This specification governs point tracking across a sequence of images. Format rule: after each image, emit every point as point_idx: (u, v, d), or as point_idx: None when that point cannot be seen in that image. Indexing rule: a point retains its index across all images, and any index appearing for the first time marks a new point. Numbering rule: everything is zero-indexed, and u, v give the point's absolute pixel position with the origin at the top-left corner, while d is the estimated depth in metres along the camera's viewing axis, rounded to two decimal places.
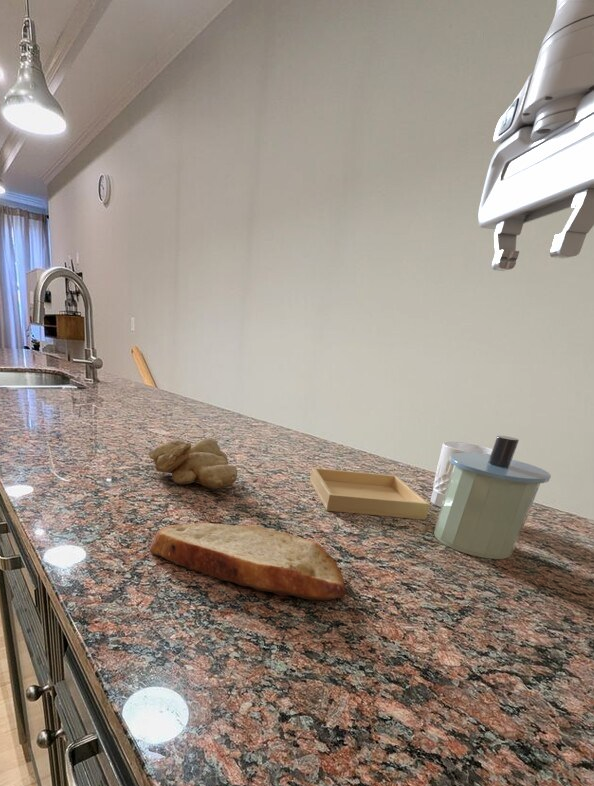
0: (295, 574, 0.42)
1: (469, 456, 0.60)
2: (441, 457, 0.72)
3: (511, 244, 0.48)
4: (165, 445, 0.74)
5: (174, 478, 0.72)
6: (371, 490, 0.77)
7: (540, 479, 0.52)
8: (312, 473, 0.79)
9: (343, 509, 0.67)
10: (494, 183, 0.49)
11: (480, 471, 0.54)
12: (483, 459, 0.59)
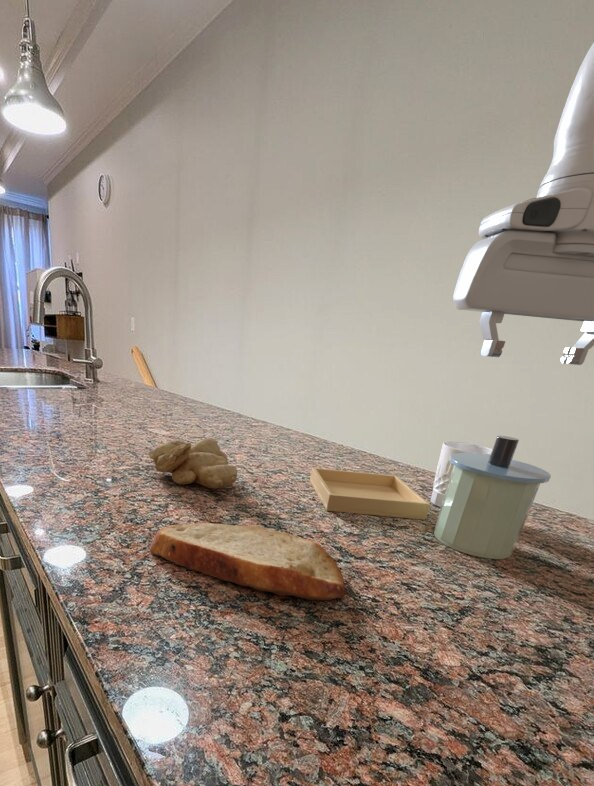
0: (295, 574, 0.42)
1: (469, 456, 0.60)
2: (441, 457, 0.72)
3: None
4: (165, 445, 0.74)
5: (174, 478, 0.72)
6: (371, 490, 0.77)
7: (540, 479, 0.52)
8: (312, 473, 0.79)
9: (343, 509, 0.67)
10: (496, 268, 0.47)
11: (480, 471, 0.54)
12: (483, 459, 0.59)
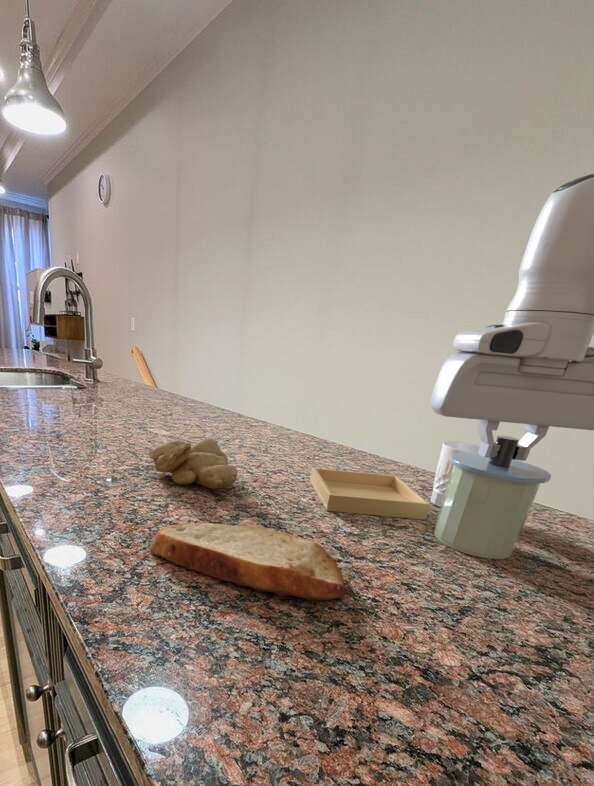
0: (295, 574, 0.42)
1: (469, 456, 0.60)
2: (441, 457, 0.72)
3: None
4: (165, 445, 0.74)
5: (174, 478, 0.72)
6: (371, 490, 0.77)
7: (540, 479, 0.52)
8: (312, 473, 0.79)
9: (343, 509, 0.67)
10: (467, 384, 0.52)
11: (480, 471, 0.54)
12: (483, 459, 0.59)
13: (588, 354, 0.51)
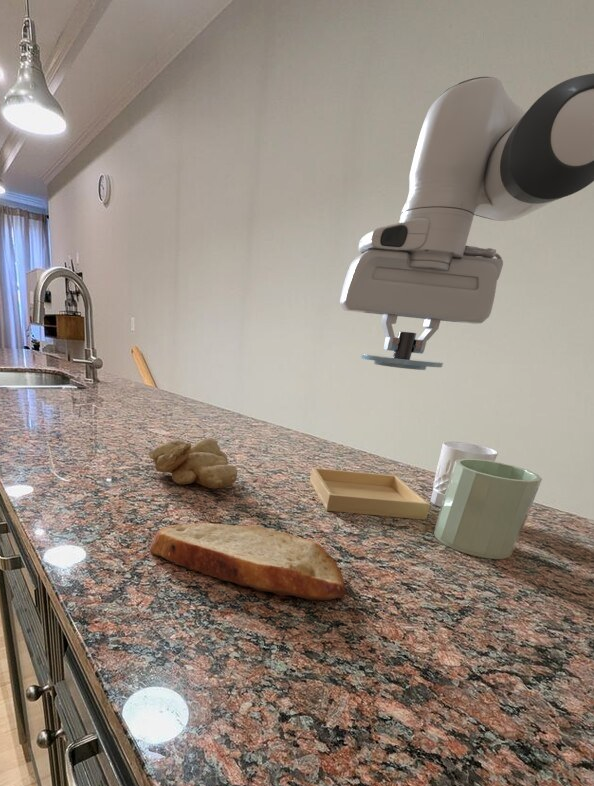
0: (295, 574, 0.42)
1: (380, 355, 0.68)
2: (441, 457, 0.72)
3: None
4: (165, 445, 0.74)
5: (174, 478, 0.72)
6: (371, 490, 0.77)
7: (430, 362, 0.60)
8: (312, 473, 0.79)
9: (343, 509, 0.67)
10: (366, 278, 0.60)
11: (380, 358, 0.62)
12: None
13: (470, 253, 0.59)
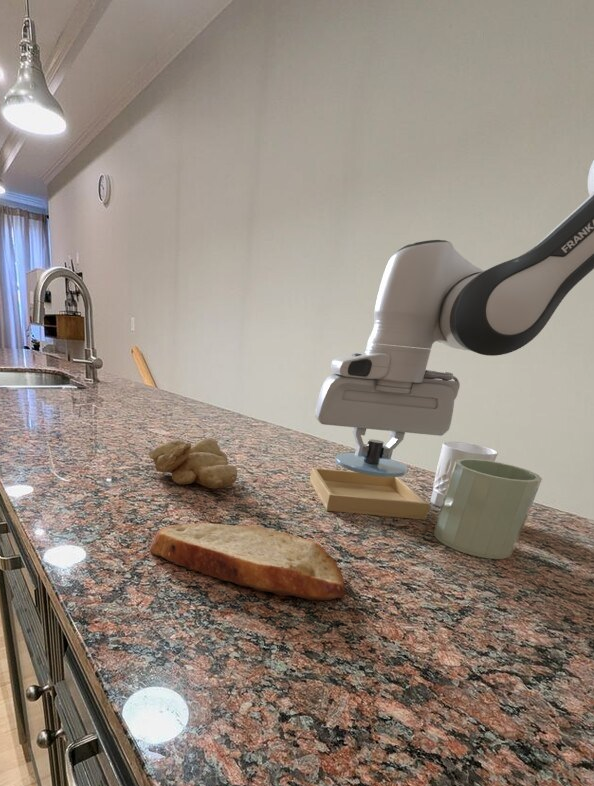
0: (295, 574, 0.42)
1: (352, 455, 0.75)
2: (441, 457, 0.72)
3: None
4: (165, 445, 0.74)
5: (174, 478, 0.72)
6: (371, 490, 0.77)
7: (394, 473, 0.67)
8: (312, 473, 0.79)
9: (343, 509, 0.67)
10: (336, 399, 0.66)
11: (350, 467, 0.68)
12: (362, 458, 0.74)
13: (430, 377, 0.66)
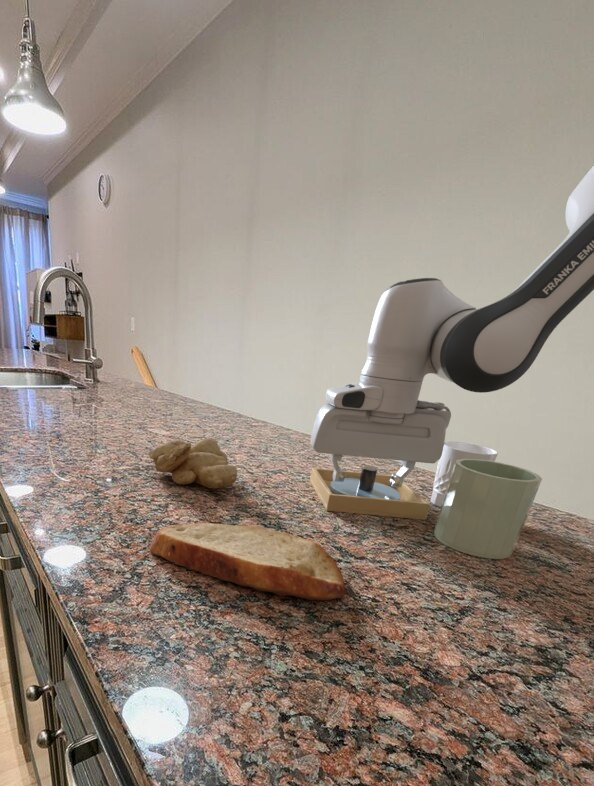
0: (295, 574, 0.42)
1: (347, 481, 0.77)
2: (441, 457, 0.72)
3: None
4: (165, 445, 0.74)
5: (174, 478, 0.72)
6: None
7: None
8: (312, 473, 0.79)
9: (343, 509, 0.67)
10: (331, 429, 0.68)
11: None
12: (356, 484, 0.76)
13: (422, 407, 0.68)
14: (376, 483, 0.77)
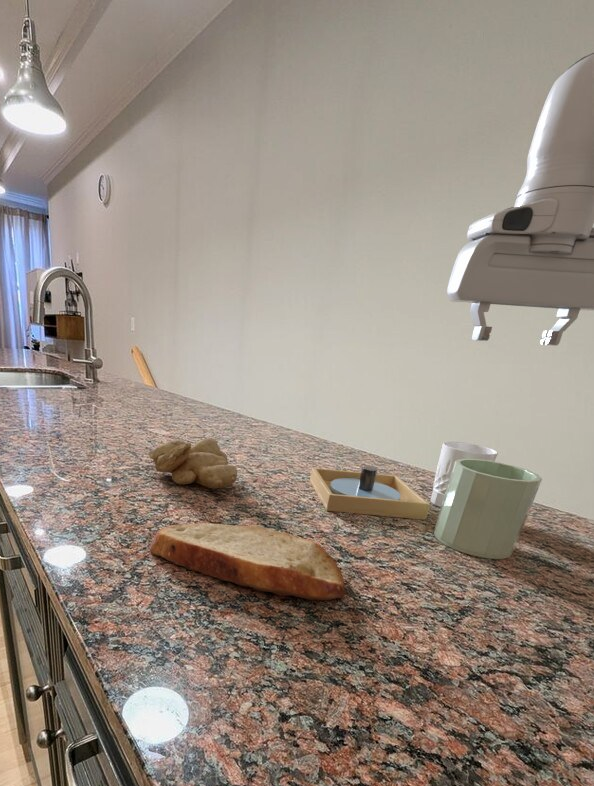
0: (295, 574, 0.42)
1: (347, 481, 0.77)
2: (441, 457, 0.72)
3: None
4: (165, 445, 0.74)
5: (174, 478, 0.72)
6: None
7: None
8: (312, 473, 0.79)
9: (343, 509, 0.67)
10: (482, 266, 0.56)
11: None
12: (356, 484, 0.76)
13: None
14: (376, 483, 0.77)
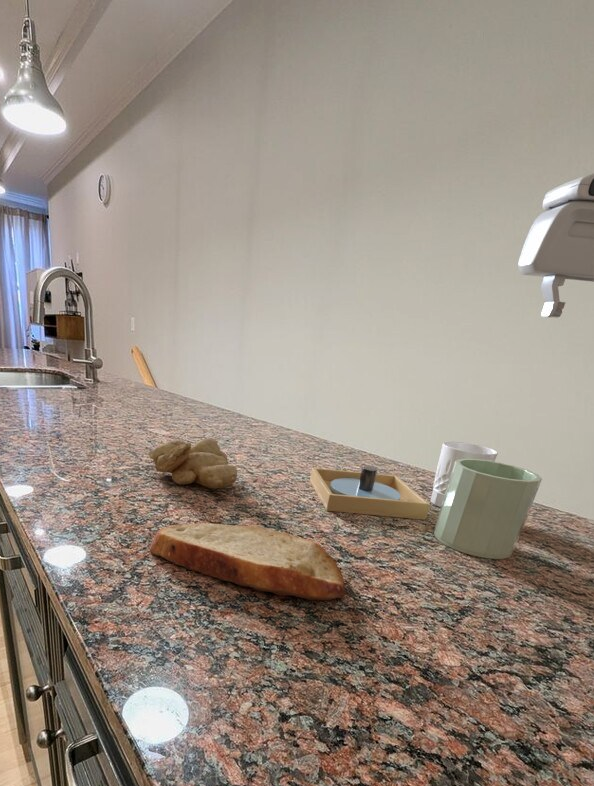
0: (295, 574, 0.42)
1: (347, 481, 0.77)
2: (441, 457, 0.72)
3: None
4: (165, 445, 0.74)
5: (174, 478, 0.72)
6: None
7: None
8: (312, 473, 0.79)
9: (343, 509, 0.67)
10: (561, 235, 0.53)
11: None
12: (356, 484, 0.76)
13: None
14: (376, 483, 0.77)
